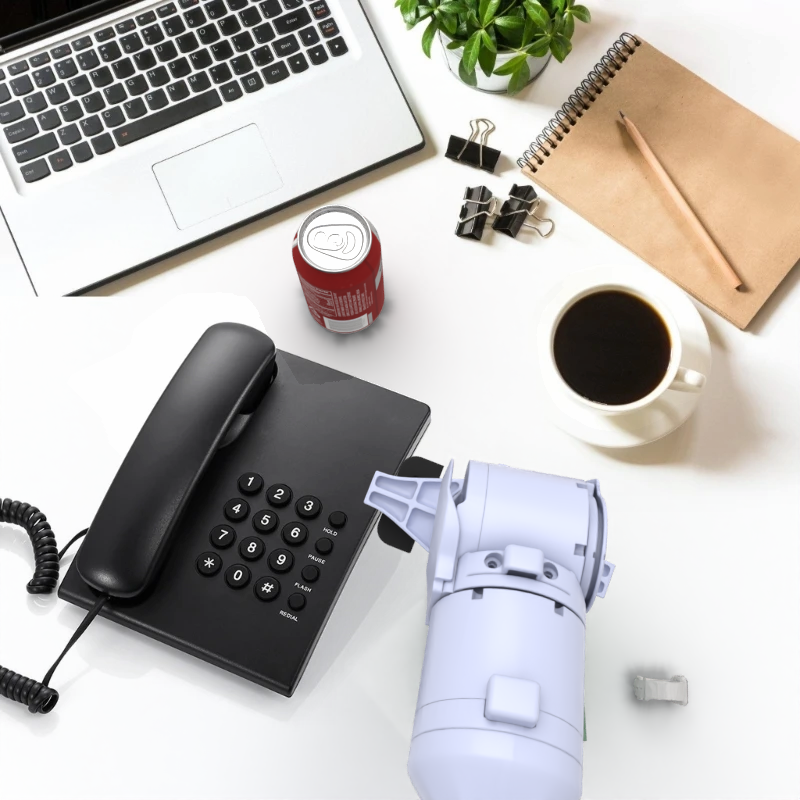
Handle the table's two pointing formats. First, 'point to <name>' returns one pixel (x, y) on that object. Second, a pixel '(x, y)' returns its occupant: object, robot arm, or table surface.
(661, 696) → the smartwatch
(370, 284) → the soda can
